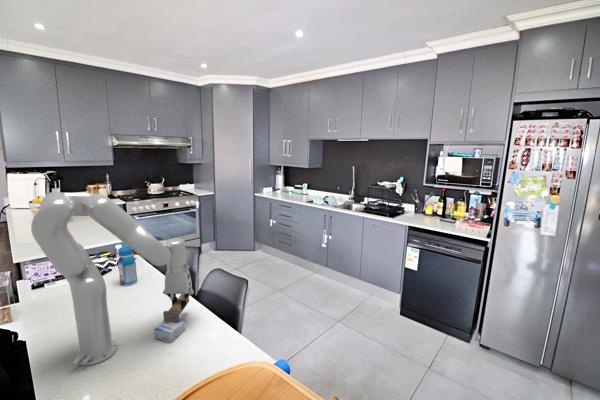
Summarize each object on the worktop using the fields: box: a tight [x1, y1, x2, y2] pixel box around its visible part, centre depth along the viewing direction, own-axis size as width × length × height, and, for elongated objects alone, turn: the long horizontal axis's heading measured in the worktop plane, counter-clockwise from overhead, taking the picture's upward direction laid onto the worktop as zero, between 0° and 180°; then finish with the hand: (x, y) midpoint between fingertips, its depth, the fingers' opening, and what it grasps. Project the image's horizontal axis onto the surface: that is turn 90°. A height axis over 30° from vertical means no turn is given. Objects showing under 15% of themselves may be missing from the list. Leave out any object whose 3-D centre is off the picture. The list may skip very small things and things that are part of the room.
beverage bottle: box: [117, 246, 138, 287], centre depth 158 cm, size 8×8×20 cm
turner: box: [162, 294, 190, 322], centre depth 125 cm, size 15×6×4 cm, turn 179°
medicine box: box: [153, 319, 186, 344], centre depth 117 cm, size 8×4×9 cm
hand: (179, 306), depth 126 cm, fingers closed on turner, 3 cm apart
